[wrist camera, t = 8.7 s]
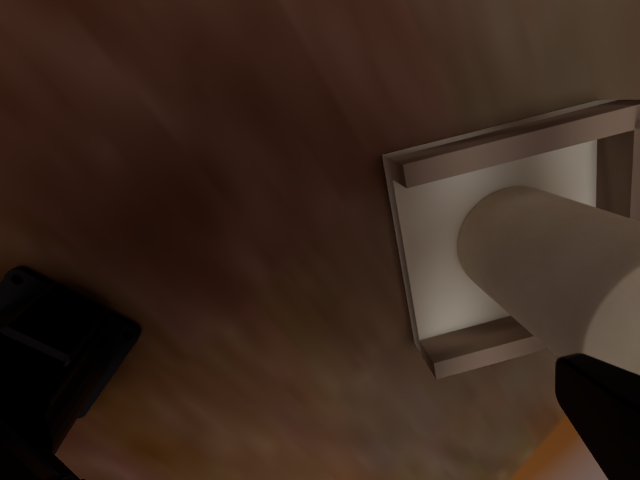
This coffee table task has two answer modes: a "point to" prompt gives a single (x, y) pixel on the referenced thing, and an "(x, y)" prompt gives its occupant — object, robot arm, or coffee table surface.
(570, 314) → the candle
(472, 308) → the dock bay
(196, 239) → the coffee table surface
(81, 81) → the coffee table surface
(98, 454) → the coffee table surface
